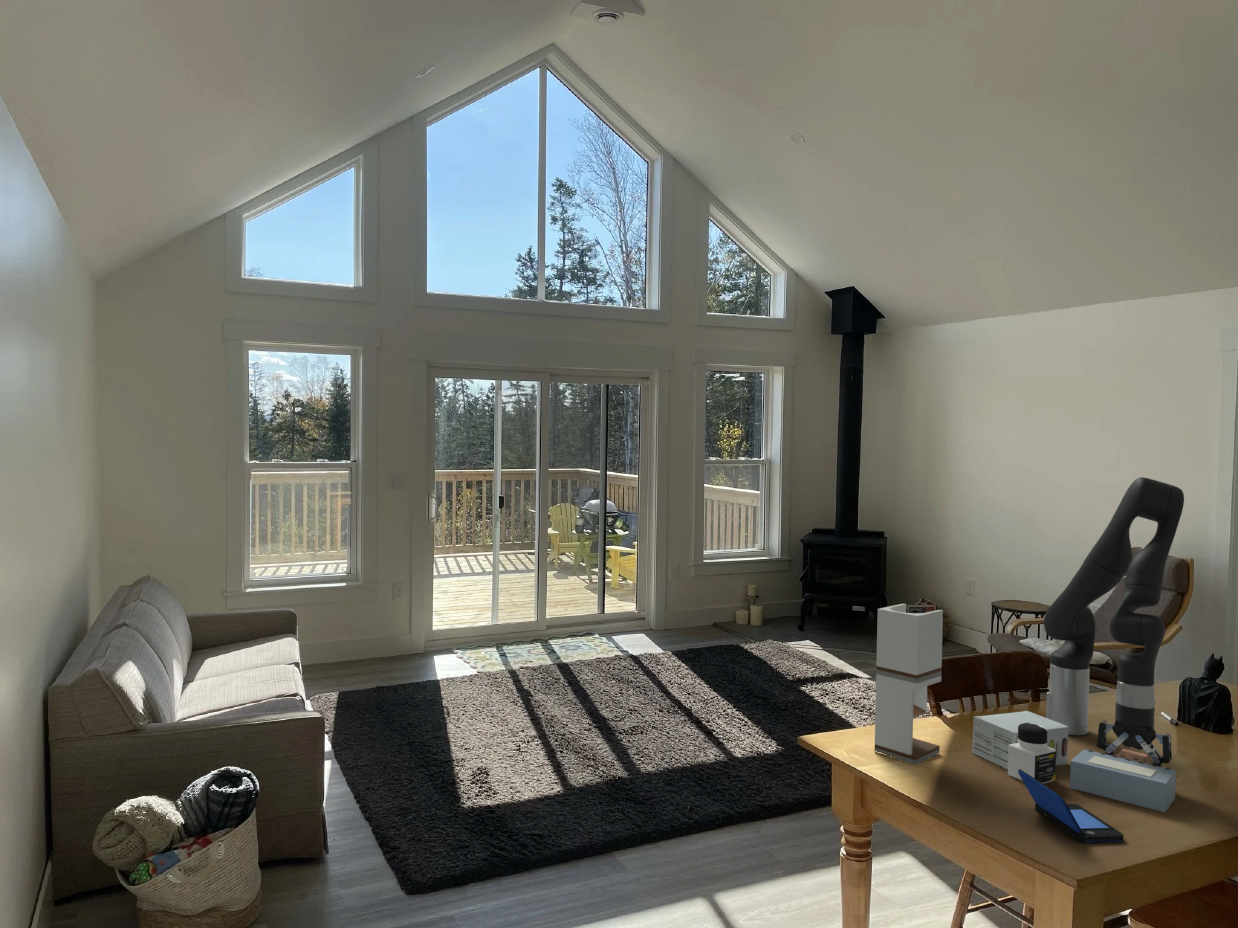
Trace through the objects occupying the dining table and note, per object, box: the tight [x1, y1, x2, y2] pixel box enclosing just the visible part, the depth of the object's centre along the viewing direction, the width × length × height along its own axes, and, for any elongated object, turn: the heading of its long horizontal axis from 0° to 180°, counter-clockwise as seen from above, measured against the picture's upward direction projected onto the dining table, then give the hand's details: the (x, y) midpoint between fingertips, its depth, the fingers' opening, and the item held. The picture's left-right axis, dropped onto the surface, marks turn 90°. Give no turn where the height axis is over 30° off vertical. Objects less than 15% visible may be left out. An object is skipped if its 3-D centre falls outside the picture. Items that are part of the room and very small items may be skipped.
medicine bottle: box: [1007, 723, 1057, 785], centre depth 196 cm, size 7×7×12 cm
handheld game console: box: [1018, 769, 1125, 844], centre depth 172 cm, size 16×13×9 cm
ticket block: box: [1069, 749, 1177, 813], centre depth 188 cm, size 18×10×6 cm, turn 47°
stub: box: [1116, 748, 1149, 764], centre depth 195 cm, size 5×6×6 cm
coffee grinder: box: [874, 603, 944, 766], centre depth 210 cm, size 11×11×35 cm
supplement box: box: [971, 710, 1069, 771], centre depth 208 cm, size 17×13×9 cm
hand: (1133, 773), depth 195 cm, fingers open, 8 cm apart
